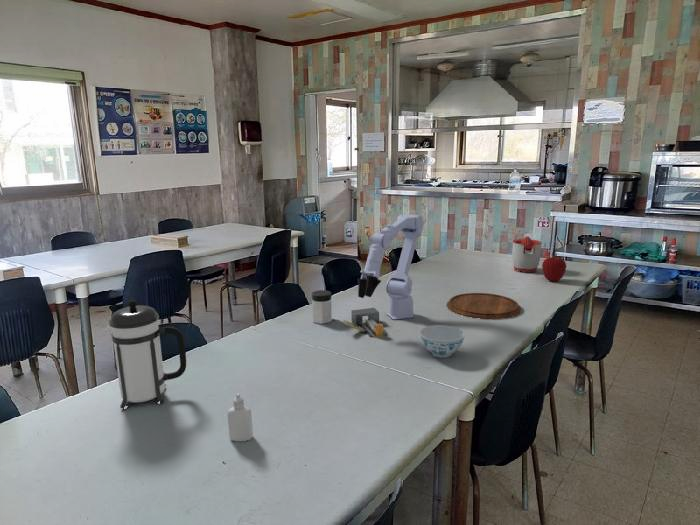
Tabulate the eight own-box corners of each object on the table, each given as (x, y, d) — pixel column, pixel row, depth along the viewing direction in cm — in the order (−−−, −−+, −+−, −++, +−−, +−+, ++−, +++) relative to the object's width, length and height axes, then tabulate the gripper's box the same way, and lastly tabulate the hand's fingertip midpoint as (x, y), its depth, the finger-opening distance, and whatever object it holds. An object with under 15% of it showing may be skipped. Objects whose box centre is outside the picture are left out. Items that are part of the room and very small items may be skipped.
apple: (568, 283, 251) (571, 258, 247) (546, 284, 251) (548, 258, 248) (559, 277, 262) (561, 253, 259) (537, 278, 262) (539, 253, 259)
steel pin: (372, 326, 196) (372, 315, 195) (383, 336, 185) (383, 325, 184) (365, 327, 195) (365, 316, 194) (375, 337, 184) (375, 326, 183)
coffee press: (139, 418, 131) (126, 312, 124) (105, 402, 139) (90, 303, 133) (191, 391, 145) (181, 295, 139) (156, 378, 154) (146, 287, 147)
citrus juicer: (513, 274, 271) (515, 239, 266) (508, 266, 288) (510, 233, 283) (543, 275, 268) (545, 239, 264) (536, 267, 285) (539, 234, 280)
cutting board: (439, 315, 208) (440, 309, 208) (453, 294, 237) (453, 289, 236) (518, 324, 196) (518, 318, 196) (522, 301, 225) (523, 295, 225)
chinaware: (436, 341, 179) (437, 322, 177) (472, 353, 169) (473, 332, 167) (411, 354, 169) (411, 333, 167) (447, 367, 158) (448, 345, 157)
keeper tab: (361, 330, 192) (363, 327, 192) (365, 333, 188) (366, 330, 188) (342, 321, 189) (343, 318, 189) (345, 325, 185) (346, 322, 185)
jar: (317, 325, 198) (316, 297, 195) (308, 319, 204) (307, 292, 202) (336, 320, 203) (335, 293, 200) (326, 315, 209) (325, 288, 206)
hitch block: (374, 319, 204) (374, 307, 203) (390, 334, 187) (390, 321, 186) (351, 321, 201) (351, 310, 200) (365, 337, 184) (365, 324, 183)
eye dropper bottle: (239, 430, 125) (236, 387, 122) (255, 437, 122) (252, 393, 119) (226, 438, 121) (223, 395, 118) (242, 445, 118) (239, 401, 115)
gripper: (357, 261, 191) (348, 294, 188) (371, 257, 177) (361, 292, 174) (373, 267, 193) (364, 300, 190) (388, 263, 179) (378, 298, 176)
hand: (364, 296), depth 182 cm, fingers open, 7 cm apart
